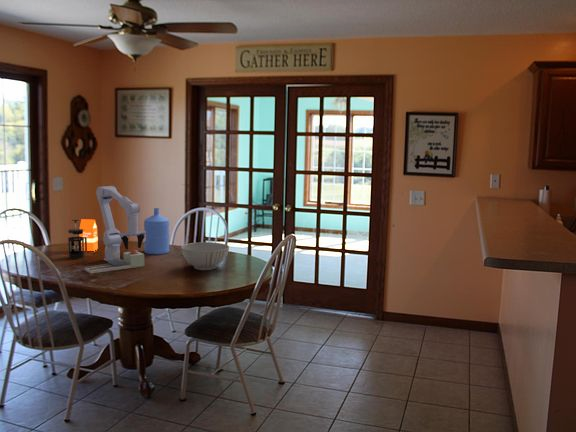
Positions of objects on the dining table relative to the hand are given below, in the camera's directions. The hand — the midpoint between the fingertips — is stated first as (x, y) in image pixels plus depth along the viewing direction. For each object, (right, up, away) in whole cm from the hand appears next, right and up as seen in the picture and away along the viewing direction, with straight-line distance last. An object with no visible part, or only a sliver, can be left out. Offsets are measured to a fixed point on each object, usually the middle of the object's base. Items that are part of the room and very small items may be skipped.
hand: (133, 248), depth 319 cm
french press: (-39, -7, +19) cm, 43 cm away
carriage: (-8, -8, -5) cm, 13 cm away
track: (-8, -11, -5) cm, 14 cm away
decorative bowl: (+41, -11, +1) cm, 42 cm away
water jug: (+4, -5, +39) cm, 39 cm away
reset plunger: (0, -5, +1) cm, 5 cm away
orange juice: (-39, -4, +39) cm, 55 cm away
